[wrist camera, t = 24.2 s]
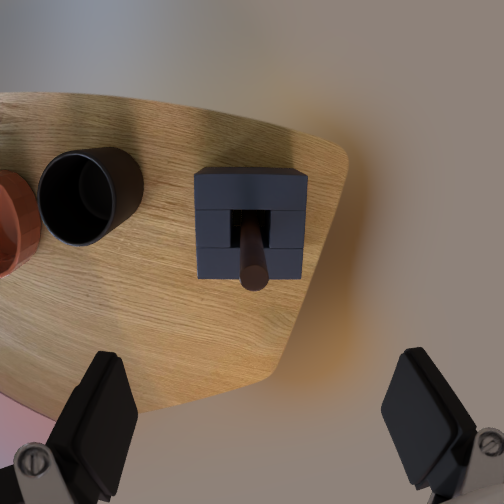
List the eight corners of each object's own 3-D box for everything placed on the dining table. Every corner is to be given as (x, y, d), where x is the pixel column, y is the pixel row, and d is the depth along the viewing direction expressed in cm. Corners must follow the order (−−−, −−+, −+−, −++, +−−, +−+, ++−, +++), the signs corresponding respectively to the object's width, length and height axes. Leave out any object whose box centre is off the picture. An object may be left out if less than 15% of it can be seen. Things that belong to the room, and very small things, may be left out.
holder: (204, 167, 34) (193, 174, 27) (293, 168, 35) (307, 175, 27) (206, 251, 38) (197, 279, 30) (289, 251, 38) (301, 279, 30)
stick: (241, 205, 36) (239, 264, 19) (256, 205, 36) (269, 265, 19) (240, 220, 36) (239, 291, 19) (256, 220, 36) (268, 291, 20)
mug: (62, 146, 32) (19, 151, 24) (148, 148, 33) (118, 151, 25) (61, 218, 35) (21, 239, 27) (142, 227, 36) (115, 252, 28)
